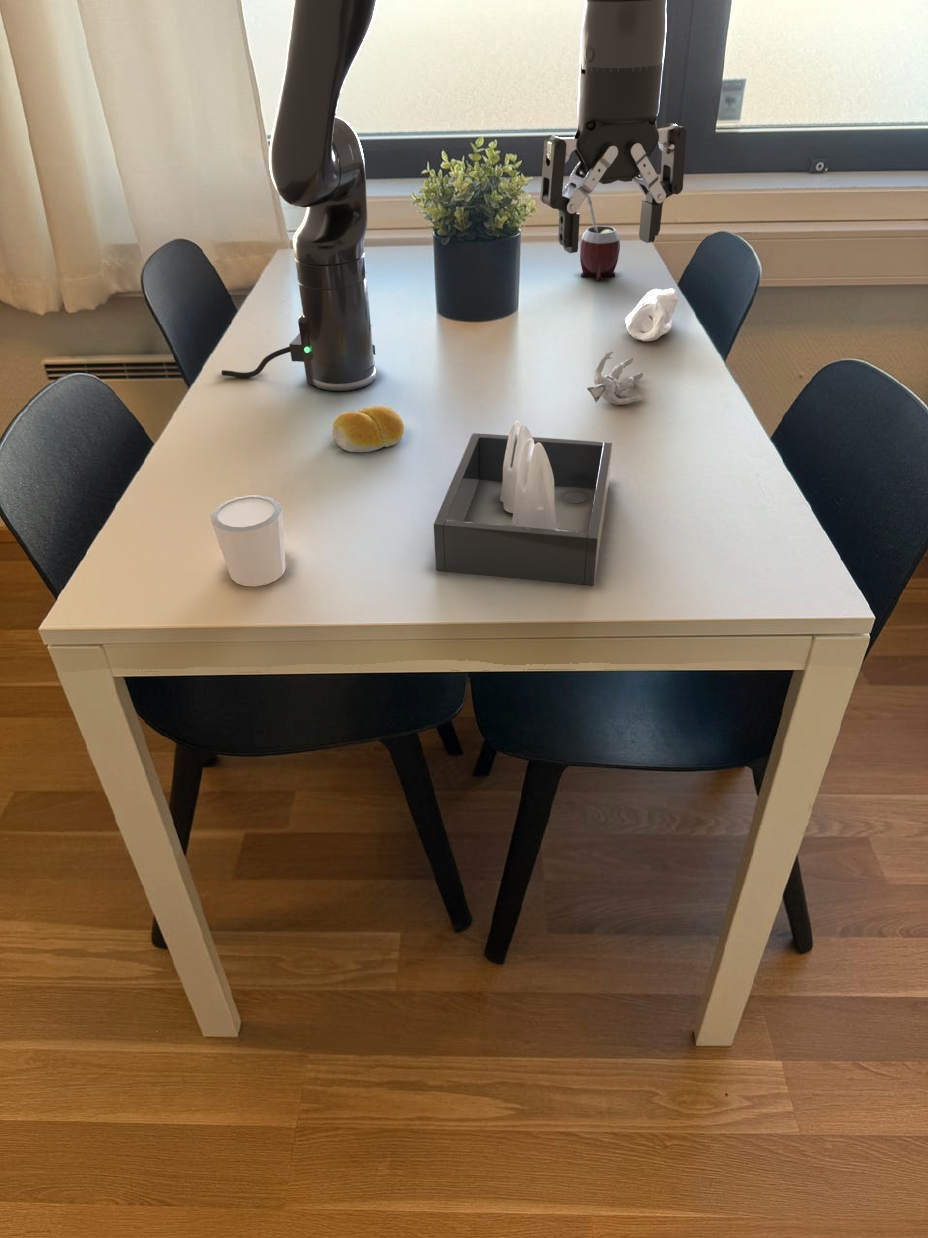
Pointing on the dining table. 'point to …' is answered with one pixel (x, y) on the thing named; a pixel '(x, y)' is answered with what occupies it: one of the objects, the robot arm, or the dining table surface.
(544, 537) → the grey open box
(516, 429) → the shaker set
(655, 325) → the white irregular lump
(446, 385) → the dining table surface
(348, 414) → the bread roll
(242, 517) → the white cylinder
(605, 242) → the mate gourd
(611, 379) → the soldier figure
